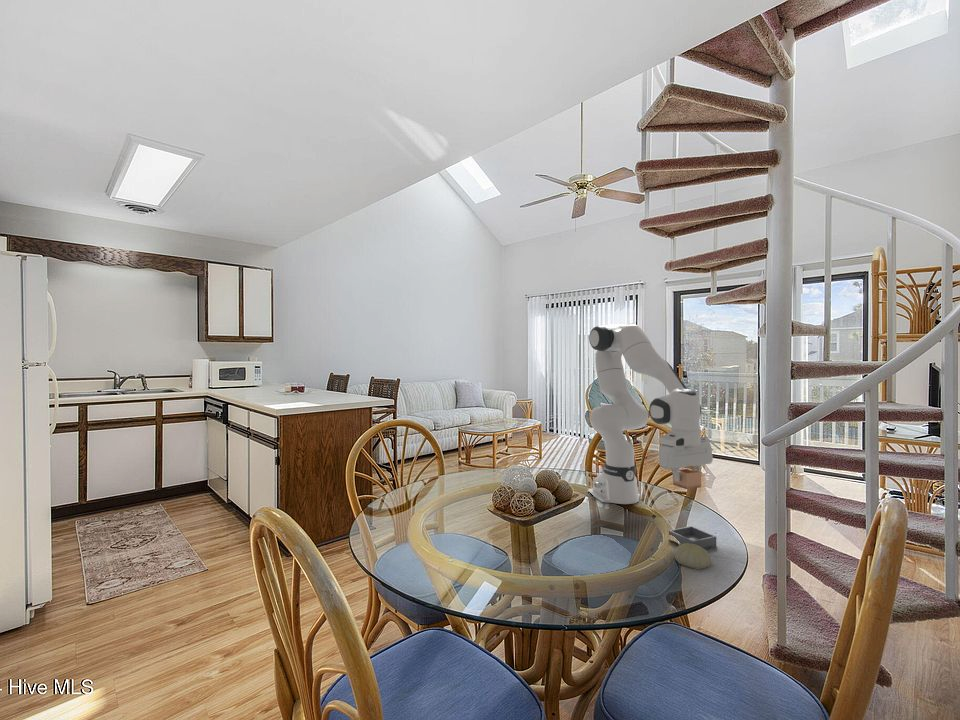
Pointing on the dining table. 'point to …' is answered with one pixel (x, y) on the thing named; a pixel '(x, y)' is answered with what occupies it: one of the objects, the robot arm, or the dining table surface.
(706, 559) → the sea urchin shell
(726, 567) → the dining table surface
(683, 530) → the charcoal crate
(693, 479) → the terracotta crate
